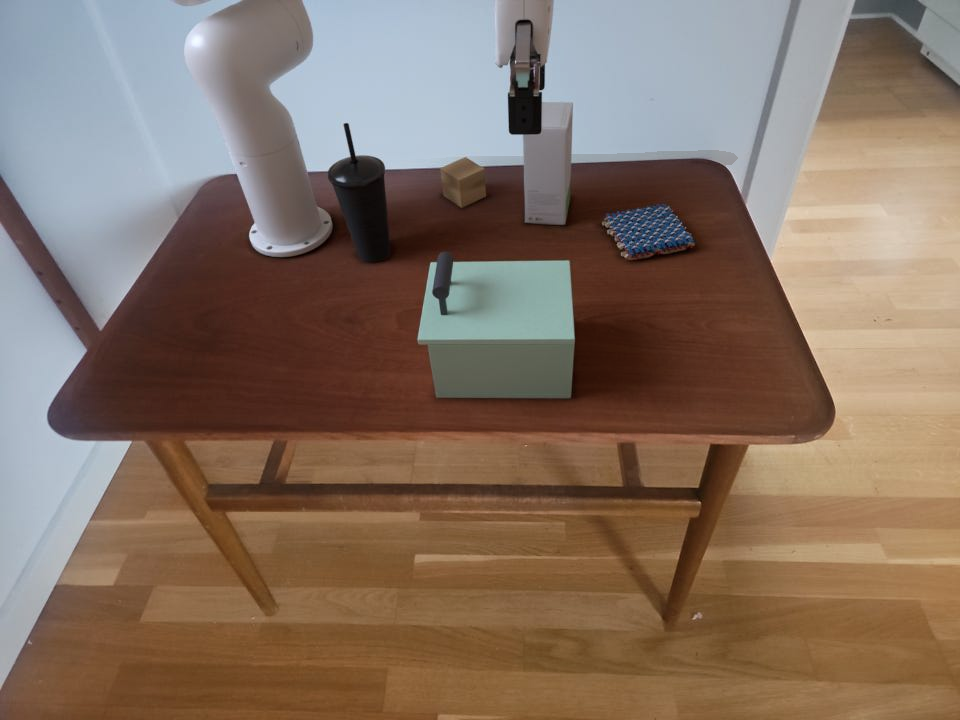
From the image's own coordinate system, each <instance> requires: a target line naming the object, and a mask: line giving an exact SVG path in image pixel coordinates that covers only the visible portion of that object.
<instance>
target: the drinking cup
mask: <svg viewBox="0 0 960 720" xmlns="http://www.w3.org/2000/svg"><path fill="white" fill-rule="evenodd" d="M342 126H343V130H344V134H345V139H346V142H347V147H348V153H349V156H348V157H344V158H342V159H340V160H338V161H336V162H335V163H333V164H332V165H331V166H330V167H329V168H328V170H327V180H328V181H329V182H330V184H331V185H332V188H333V191H334V193H335V197H336V198H337V202H338V204H339V207H340V210H341V213H342V215H343V218H344V220H345V223H346V224H345V225H346V227H347V229H348V232H349V235H350V237H351V240H352V243H353V246H354V248H355V251H356V254H357V257H358V258H359V260H361V262H364V263H368V264H369V263H370V264H371V263H372V264H374V263H378V262H382V261H384V260H386V259H387V258H388V257H389V256H390V255H391V241H390V230H389V219H388V218H389V217H388V216H389V215H388V208H387V206H388V205H387V195H386V184H385V183H386V182H385V173H386V165H385V163H384V161H382V160H381V159H380V158H378V157H376V156H372V155H366V154H365V155H360V154H359V155H357V154H356V151H355V147H354V142H353V141H354V140H353V137H352V133H351V128H350V124H349V123H348V122H345V123H343V125H342Z"/></svg>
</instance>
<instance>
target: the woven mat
mask: <svg viewBox="0 0 960 720" xmlns="http://www.w3.org/2000/svg"><path fill="white" fill-rule="evenodd" d="M650 206H651V205H646V207H642V208H640V207H637V208H636V209H631V210H630V209H626V211H621V212H620V211H619V210H618V211H616V213H613V212H612V213H611V214H610V213H609V212H607V213H605V216H604V219H603V220H604V221H602V222H601V225H602V226H605V228H608V229H607V230H606V233H607V235H610V236H611V237H613V238H614V242H615V243H616V246H617V248H618V249H619V250H621V252H620V256H621V257H624V258H625V260H628V261H636V260H641V259H647V258H651V257H652V256H654V255H667V254H672V253H677V252H681V251H685V250H687V249H693V248H694V246H695V245H696V244H695V240H694V239H693V236H692V233H690V232H689V231H686V229H687V227H686V226H684V225H683V222H680V219H678V218H679V217H678V215H675V214H674V213H673V212H674V210H672V209H671V208H670V205H669V206H668V205H667V204H665V203H662V204H661V203H657V204H656V206H655V205H652V206H651V207H650Z"/></svg>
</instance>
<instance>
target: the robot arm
mask: <svg viewBox="0 0 960 720" xmlns="http://www.w3.org/2000/svg"><path fill="white" fill-rule="evenodd" d="M210 1H211V0H170V2H173V3H174V4H176V5H179V6H182V7H195V6H198V5H202V4H205V3H207V2H210ZM493 2H494V3H493V6H494V7H493V8H494V52H495V54H494V60H495V65H496V66H497V67H498V68H499V69H503V66H508V65H509V85H508V87H509V89H508V90H509V91H508V93H507V114H508V116H507V117H508V119H507V120H508V133H509V134H510V135H512V136H513V135H514V136H516V135H518V136H523V135H537V134H540V133H541V130H542V102H543V92H542V91H544V89H545V88H546V87H545V86H546V64H547V63H548V56H549V48H550V41H551V34H552V27H553V26H552V25H553V16H554V3H555V0H494V1H493ZM313 46H314V30H313V27H312V22H311V19H310V17H309V14H308V11H307V9H306V6H305V4H304V2H303V0H239V1H238V2H236V3H234V4H231V5H228V6H227V7H224V8H221V10H218V11H217V12H214V13H212V14H210V15H209V16H206V17H205V18H204V19H202V20H200V21H199V22H198V23H196V24H195V25H194V26H193V28H191V29H190V31H189V32H188V34H187V35H186V38H185V40H184V46H183V56H184V61H185V64H186V66H187V69H188V71H189V73H190V75H191V77H192V78H193V80H194V82H195V84H196V85H197V88H198V89H199V91H200V92H201V94H202V95H203V98H204V99H205V100H206V102H207V105H208V107H209V108H210V110H211V112H212V114H213V117H214V119H215V121H216V123H217V126H218V128H219V131H220V133H221V137H222V139H223V142H224V144H225V147H226V149H227V152H228V155H229V157H230V160H231V163H232V165H233V168H234V170H235V174H236V176H237V179H238V181H239V184H240V187H241V189H242V192H243V195H244V197H245V200H246V202H247V205H248V208H249V211H250V214H251V217H252V220H253V222H254V223H253V224H252V226H251V227H250V230H249V232H248V233H249V234H248V239H249V241H250V244H251V246H252V248H253V249H255V251H257V252H258V253H259V254H262V255H264V256H269V257H273V258H288V257H290V258H291V257H295V256H299V255H303V254H307V253H309V252H310V251H312V250H315V249H316V248H318V247H319V246H321V245H322V244H323V243H325V241H327V239H328V238H329V237H330V235H331V234H332V231H333V221H332V217H331V215H330V214H329V212H328V211H326V210H325V209H324V208H321V207H320V206H317V201H316V197H315V195H314V191H313V188H312V183H311V180H310V176H309V173H308V169H307V165H306V161H305V157H304V155H303V152H302V151H303V150H302V148H301V144H300V140H299V137H298V133H297V131H296V127H295V123H294V121H293V117H292V116H291V114H290V112H289V110H288V109H287V107H286V106H285V105H284V104H283V103H282V102H281V101H280V100H279V99H278V98H276V96H275V95H274V94H273V93H272V91H271V85H272V84H274V83H275V82H276V81H277V80H278V79H279V78H281V77H283V76H285V75H286V74H287V73H289V72H290V71H292V70H295V68H297V67H298V66H299V65H301V64H302V63H304V62H305V61H306V60H307V59H308V57H309V56H310V54H311V52H312V51H313Z"/></svg>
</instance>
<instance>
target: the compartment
mask: <svg viewBox="0 0 960 720" xmlns="http://www.w3.org/2000/svg"><path fill="white" fill-rule="evenodd" d="M427 350H428V354H429V355H428V356H429V362H430V368H431V373H432V379H433V386H434V392H435V397H436V399H572V391H573V389H572V387H573V373H574V361H575V360H574V357H575V344H427Z"/></svg>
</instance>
